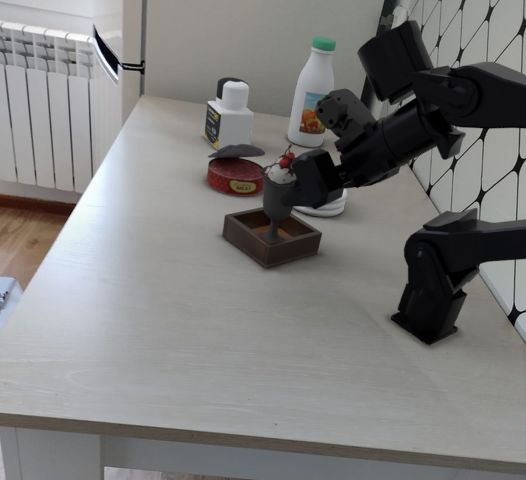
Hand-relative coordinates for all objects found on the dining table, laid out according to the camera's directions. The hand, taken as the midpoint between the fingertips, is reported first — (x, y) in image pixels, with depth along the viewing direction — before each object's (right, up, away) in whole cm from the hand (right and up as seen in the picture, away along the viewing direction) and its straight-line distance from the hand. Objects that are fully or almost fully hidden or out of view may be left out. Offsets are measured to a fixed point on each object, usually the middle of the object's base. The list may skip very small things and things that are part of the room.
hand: (302, 194), depth 79 cm
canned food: (-10, +8, +23) cm, 26 cm away
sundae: (-4, -5, +7) cm, 10 cm away
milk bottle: (+3, +24, +47) cm, 53 cm away
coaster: (+3, +4, +22) cm, 22 cm away
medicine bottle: (-13, +20, +39) cm, 45 cm away
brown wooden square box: (-4, -6, +7) cm, 10 cm away
